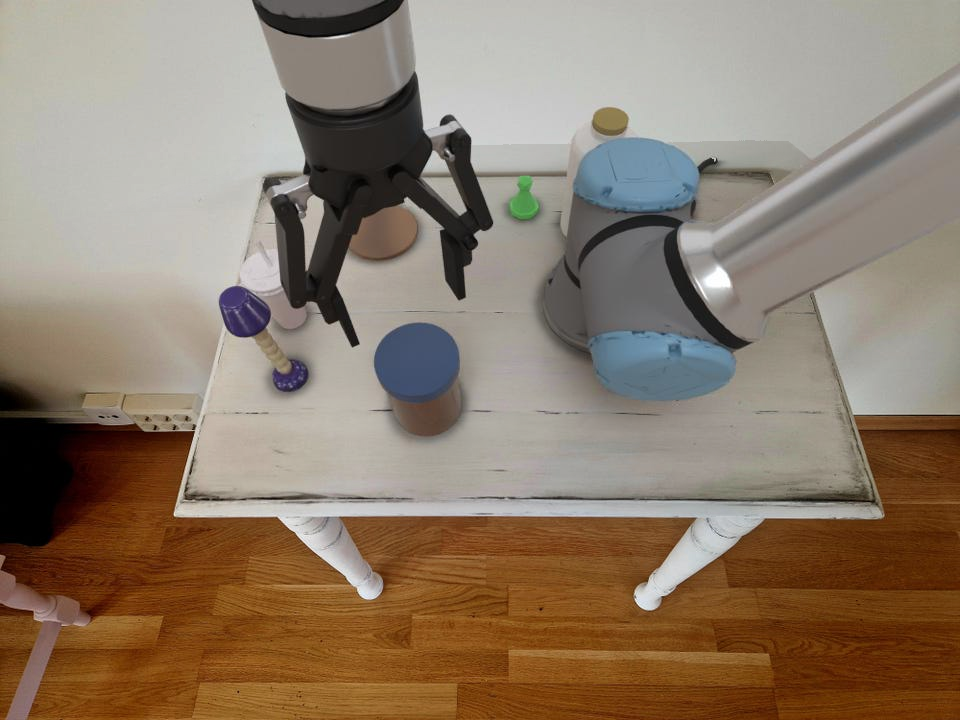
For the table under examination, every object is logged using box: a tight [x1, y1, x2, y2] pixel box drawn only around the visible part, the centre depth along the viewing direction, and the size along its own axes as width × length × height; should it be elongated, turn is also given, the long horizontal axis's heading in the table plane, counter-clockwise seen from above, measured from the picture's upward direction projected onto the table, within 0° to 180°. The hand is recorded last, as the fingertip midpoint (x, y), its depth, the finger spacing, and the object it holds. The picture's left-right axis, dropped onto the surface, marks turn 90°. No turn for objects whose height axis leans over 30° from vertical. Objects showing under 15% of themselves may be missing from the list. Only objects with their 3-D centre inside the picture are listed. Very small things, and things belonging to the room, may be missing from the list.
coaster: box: [348, 205, 419, 261], centre depth 81 cm, size 10×10×1 cm
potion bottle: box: [559, 106, 639, 238], centre depth 73 cm, size 8×8×18 cm
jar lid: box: [373, 321, 461, 403], centre depth 59 cm, size 9×9×2 cm
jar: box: [385, 376, 462, 437], centre depth 63 cm, size 8×8×10 cm
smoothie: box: [239, 238, 308, 330], centre depth 68 cm, size 6×6×14 cm
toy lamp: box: [218, 285, 309, 393], centre depth 62 cm, size 5×5×17 cm
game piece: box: [509, 175, 539, 220], centre depth 81 cm, size 4×4×6 cm
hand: (404, 311), depth 51 cm, fingers open, 10 cm apart
